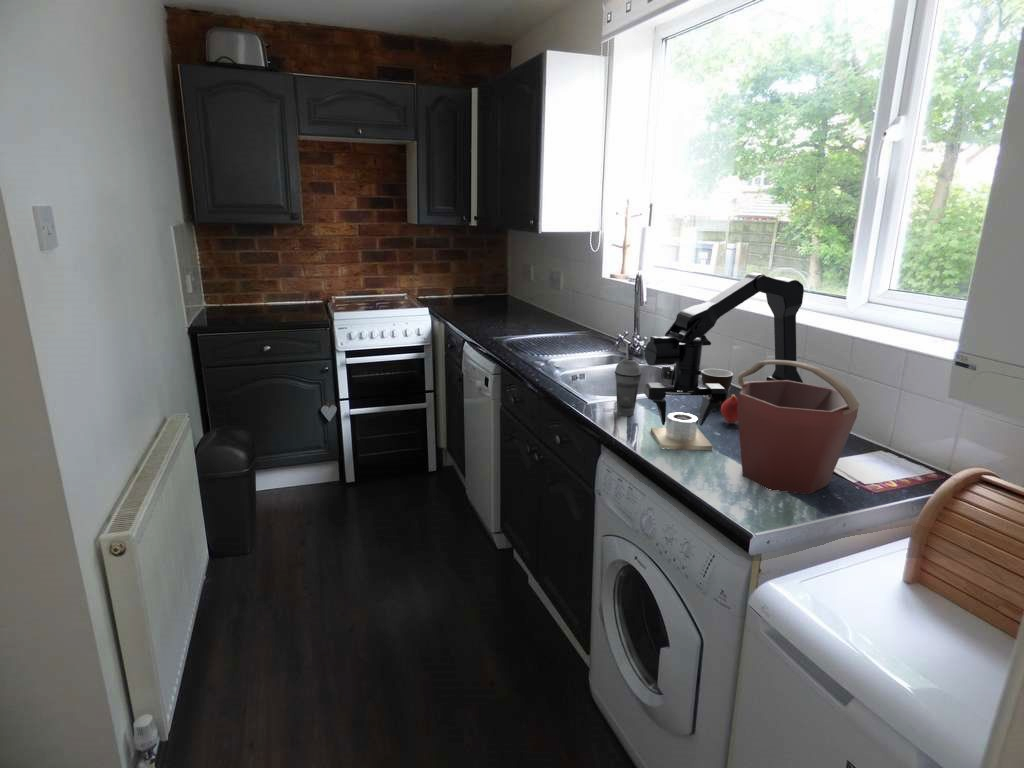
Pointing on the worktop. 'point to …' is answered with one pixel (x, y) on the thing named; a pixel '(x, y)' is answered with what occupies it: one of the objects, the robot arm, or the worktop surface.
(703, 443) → the post board
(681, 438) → the steel ring
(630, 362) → the beverage cup
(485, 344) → the worktop surface
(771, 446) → the bucket
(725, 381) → the coffee mug
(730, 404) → the onion
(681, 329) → the robot arm
